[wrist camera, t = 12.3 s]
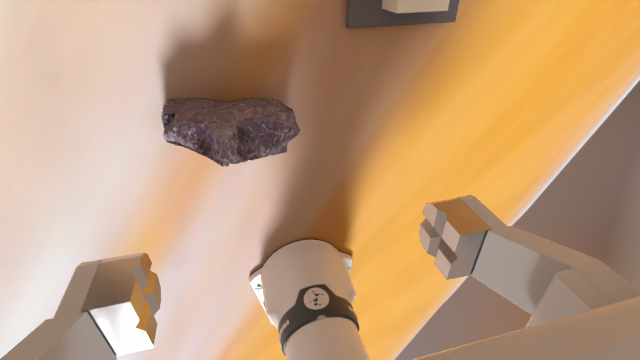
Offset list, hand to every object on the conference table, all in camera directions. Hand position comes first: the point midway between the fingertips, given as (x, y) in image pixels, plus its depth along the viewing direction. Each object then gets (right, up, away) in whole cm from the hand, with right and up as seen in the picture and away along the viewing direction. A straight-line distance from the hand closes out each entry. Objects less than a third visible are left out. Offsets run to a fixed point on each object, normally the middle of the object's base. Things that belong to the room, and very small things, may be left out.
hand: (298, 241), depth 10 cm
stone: (-11, +10, +32) cm, 35 cm away
